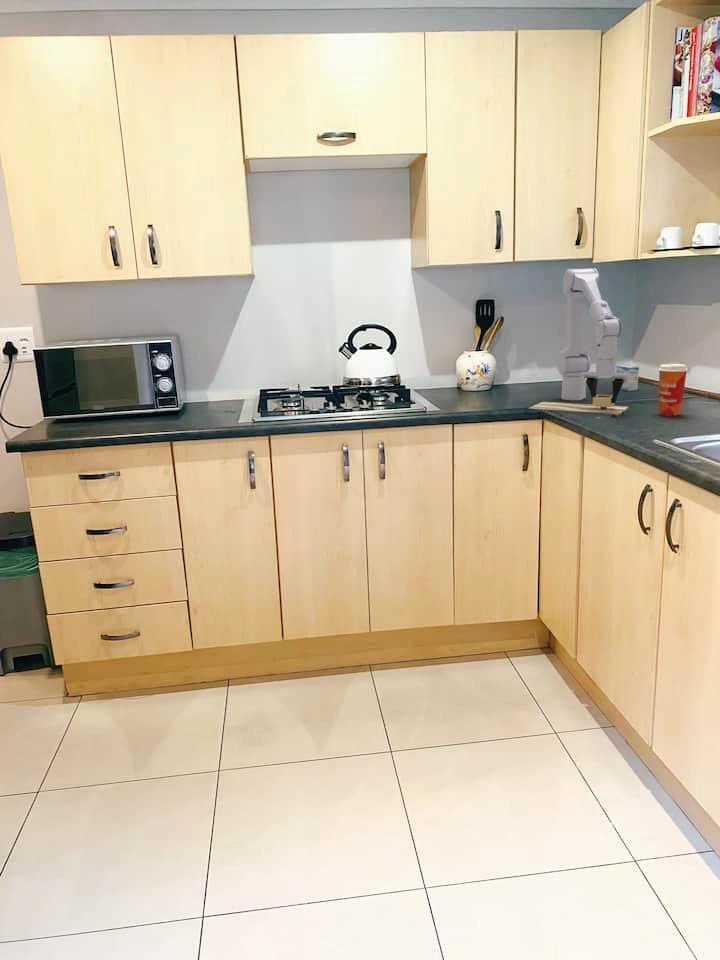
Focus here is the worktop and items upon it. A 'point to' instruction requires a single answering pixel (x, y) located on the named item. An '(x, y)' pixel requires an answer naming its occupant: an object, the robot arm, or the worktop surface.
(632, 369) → the medicine box
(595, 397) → the brass link
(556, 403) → the keeper board
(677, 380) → the coffee cup
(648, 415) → the worktop surface
